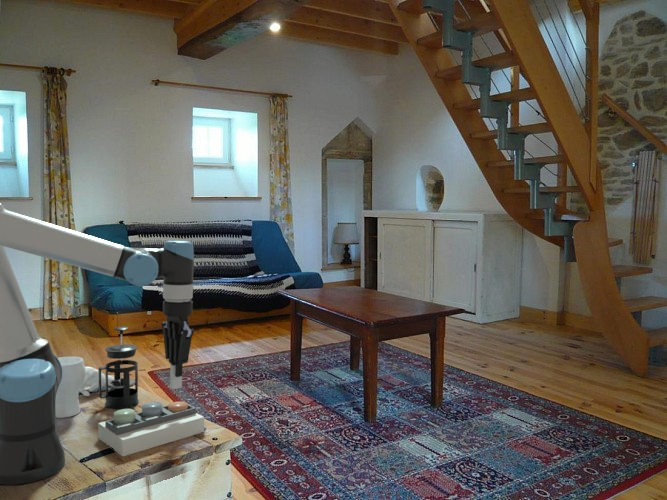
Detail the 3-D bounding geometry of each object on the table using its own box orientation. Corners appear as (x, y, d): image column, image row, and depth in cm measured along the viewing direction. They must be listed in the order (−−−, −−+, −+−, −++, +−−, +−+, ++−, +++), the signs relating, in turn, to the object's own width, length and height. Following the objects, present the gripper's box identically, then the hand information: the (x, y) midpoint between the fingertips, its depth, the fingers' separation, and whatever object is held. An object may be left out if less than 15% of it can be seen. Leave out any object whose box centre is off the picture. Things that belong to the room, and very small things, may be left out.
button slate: (147, 418, 141) (147, 410, 141) (138, 412, 145) (138, 405, 145) (166, 413, 145) (165, 405, 145) (156, 408, 148) (156, 400, 148)
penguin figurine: (73, 365, 175) (112, 362, 183) (71, 392, 175) (110, 388, 183) (79, 370, 170) (119, 367, 178) (77, 398, 170) (117, 394, 178)
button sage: (119, 425, 136) (119, 417, 136) (110, 419, 140) (110, 412, 139) (138, 420, 140) (138, 412, 139) (129, 415, 143) (129, 407, 143)
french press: (135, 395, 174) (134, 322, 173) (145, 404, 167) (145, 328, 165) (95, 403, 167) (94, 327, 165) (104, 412, 160) (103, 333, 158)
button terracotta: (174, 417, 146) (174, 409, 146) (164, 411, 150) (164, 404, 150) (191, 412, 150) (191, 405, 150) (181, 407, 153) (181, 400, 153)
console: (122, 456, 132) (122, 433, 132) (98, 438, 142) (98, 417, 142) (204, 431, 148) (204, 411, 147) (177, 416, 158) (177, 397, 157)
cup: (74, 420, 154) (74, 366, 152) (36, 419, 154) (35, 365, 153) (92, 406, 164) (91, 356, 163) (56, 405, 164) (55, 355, 163)
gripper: (203, 302, 146) (201, 391, 147) (178, 295, 155) (176, 379, 156) (177, 304, 140) (175, 397, 142) (152, 297, 150) (151, 384, 151)
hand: (175, 387), depth 149 cm, fingers closed
